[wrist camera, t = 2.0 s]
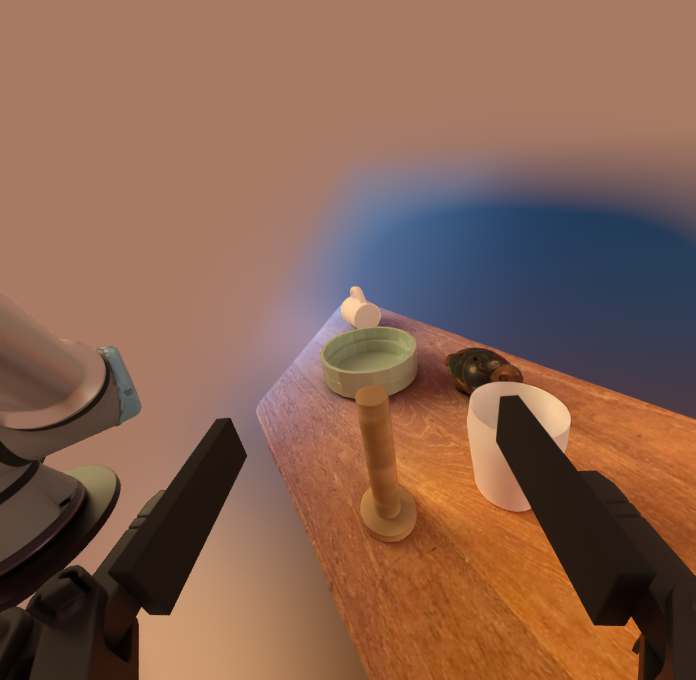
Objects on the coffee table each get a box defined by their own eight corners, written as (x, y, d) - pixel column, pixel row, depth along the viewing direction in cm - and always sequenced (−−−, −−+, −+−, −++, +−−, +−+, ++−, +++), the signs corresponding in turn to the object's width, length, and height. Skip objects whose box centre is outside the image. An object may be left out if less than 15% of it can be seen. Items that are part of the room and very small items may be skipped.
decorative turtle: (501, 428, 41) (500, 383, 37) (429, 386, 54) (424, 350, 50) (542, 399, 44) (545, 355, 41) (465, 366, 57) (463, 331, 54)
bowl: (308, 393, 56) (301, 366, 53) (349, 347, 71) (345, 324, 68) (402, 411, 47) (399, 379, 44) (426, 354, 62) (425, 328, 59)
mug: (356, 335, 77) (350, 294, 72) (343, 324, 86) (336, 287, 81) (382, 327, 79) (378, 287, 74) (366, 317, 88) (361, 280, 83)
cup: (450, 486, 34) (451, 411, 29) (485, 443, 39) (491, 371, 33) (533, 543, 27) (554, 459, 22) (563, 483, 32) (585, 401, 27)
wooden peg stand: (352, 529, 31) (323, 411, 24) (373, 481, 36) (354, 371, 29) (408, 552, 28) (395, 427, 21) (422, 496, 33) (415, 379, 26)
